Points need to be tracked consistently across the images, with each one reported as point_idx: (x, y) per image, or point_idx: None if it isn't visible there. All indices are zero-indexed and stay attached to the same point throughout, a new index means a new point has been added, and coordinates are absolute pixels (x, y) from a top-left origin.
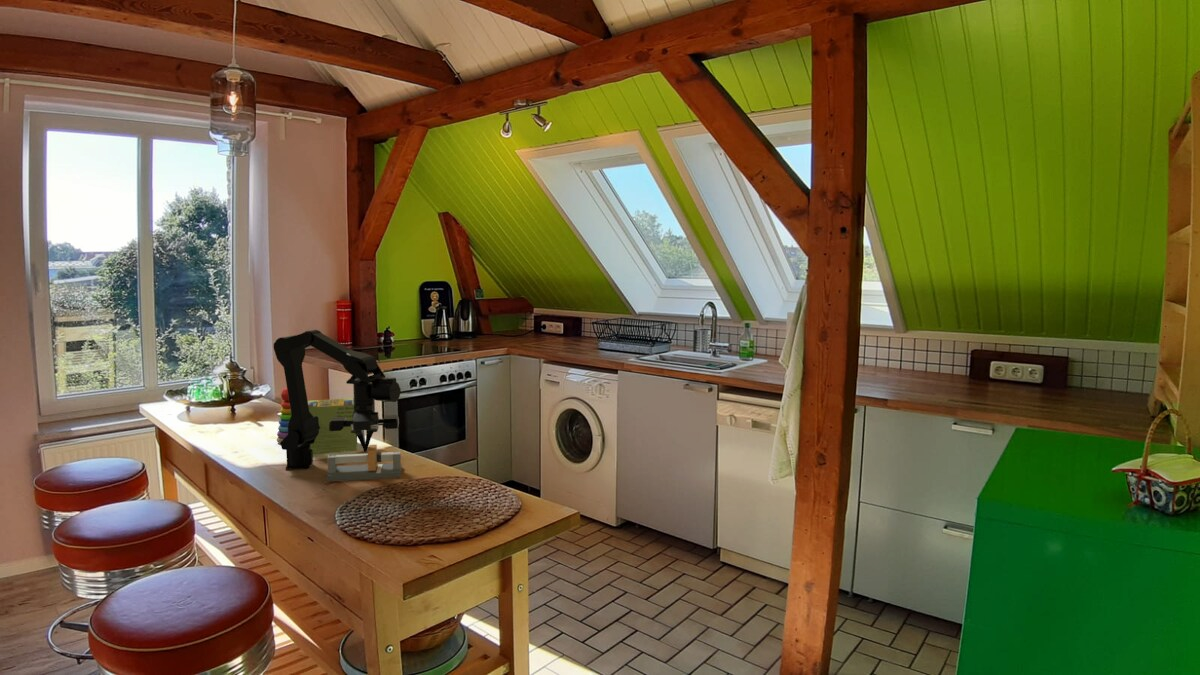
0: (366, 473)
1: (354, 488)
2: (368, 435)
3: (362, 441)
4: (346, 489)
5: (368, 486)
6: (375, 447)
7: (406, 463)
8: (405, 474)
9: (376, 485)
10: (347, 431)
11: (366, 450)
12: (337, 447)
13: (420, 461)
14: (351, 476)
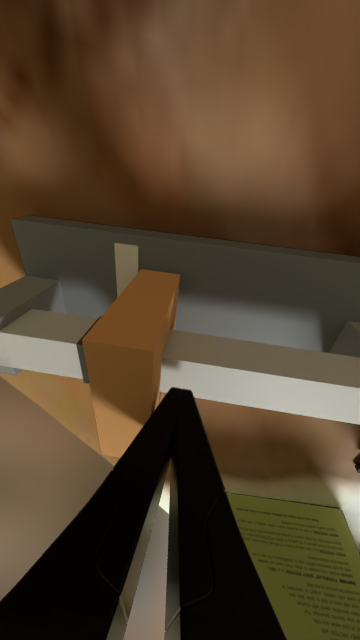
0: (190, 257)
1: (285, 43)
2: (73, 605)
3: (195, 491)
4: (348, 29)
5: (185, 73)
6: (95, 407)
7: (56, 375)
8: (19, 256)
9: (134, 84)
10: None
11: (170, 394)
12: (261, 513)
13: (15, 378)
14: (274, 250)
